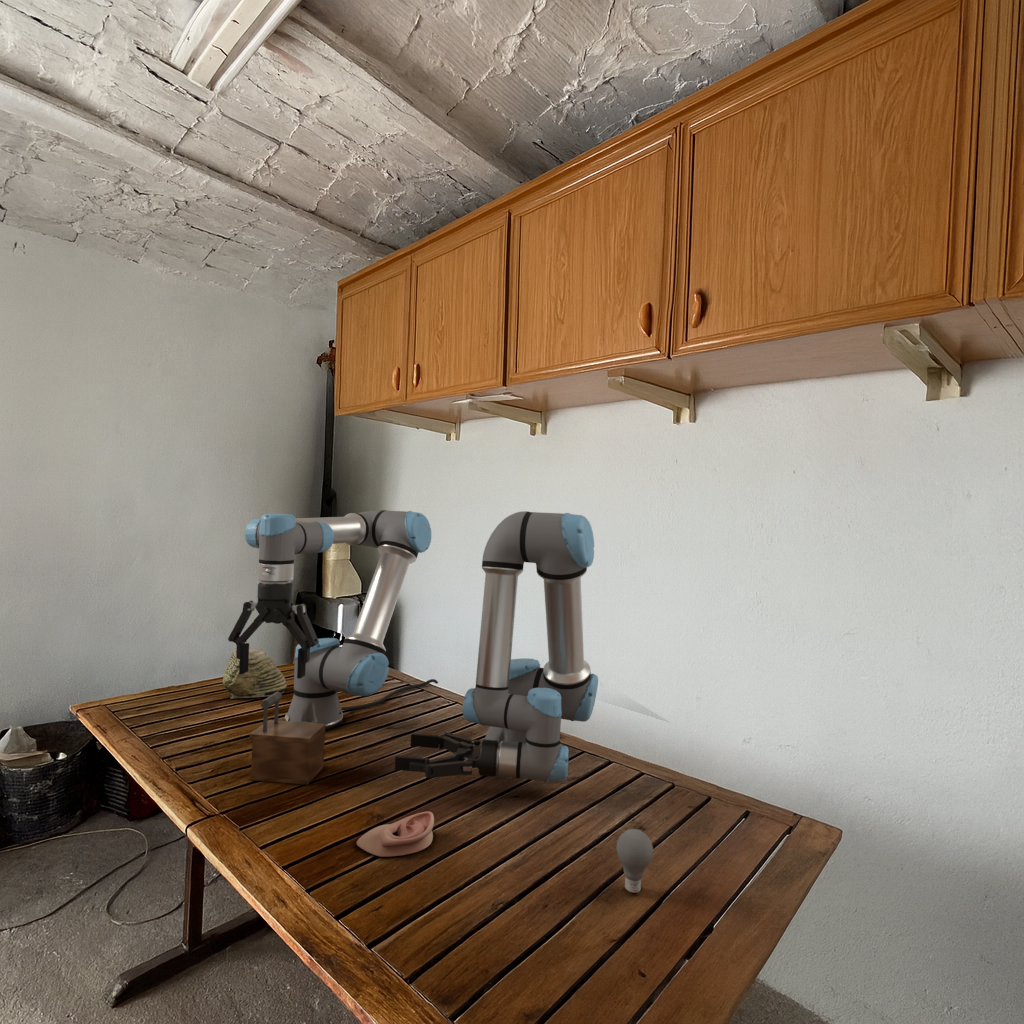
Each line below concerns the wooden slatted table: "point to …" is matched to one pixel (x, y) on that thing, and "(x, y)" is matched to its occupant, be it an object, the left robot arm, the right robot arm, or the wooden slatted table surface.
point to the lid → (284, 726)
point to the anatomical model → (399, 836)
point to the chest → (287, 760)
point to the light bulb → (634, 857)
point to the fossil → (253, 676)
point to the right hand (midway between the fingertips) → (403, 750)
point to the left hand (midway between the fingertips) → (272, 674)
